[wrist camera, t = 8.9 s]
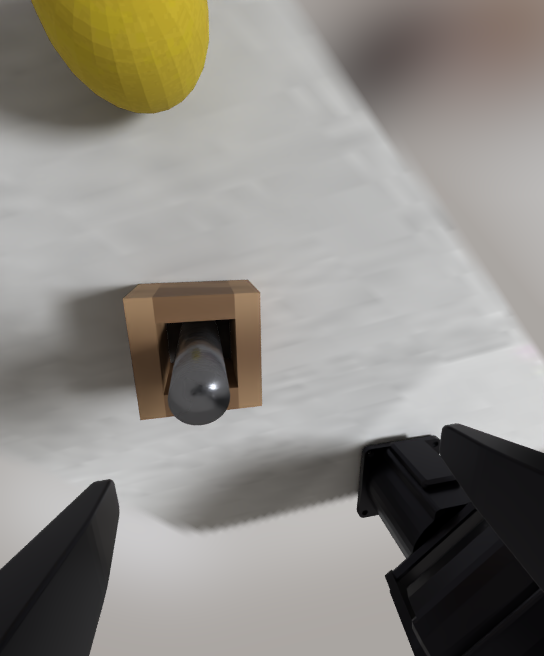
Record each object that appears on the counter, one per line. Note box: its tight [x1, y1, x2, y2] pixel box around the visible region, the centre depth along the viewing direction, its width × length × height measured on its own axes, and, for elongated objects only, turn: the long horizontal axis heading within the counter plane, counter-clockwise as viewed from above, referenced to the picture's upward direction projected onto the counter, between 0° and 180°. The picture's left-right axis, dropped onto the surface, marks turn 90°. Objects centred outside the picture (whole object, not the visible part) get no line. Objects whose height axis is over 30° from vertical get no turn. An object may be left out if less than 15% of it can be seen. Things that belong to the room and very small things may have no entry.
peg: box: [168, 320, 230, 425], centre depth 15 cm, size 2×2×8 cm
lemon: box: [31, 0, 209, 113], centre depth 11 cm, size 6×6×8 cm
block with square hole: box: [123, 280, 262, 420], centre depth 17 cm, size 6×6×4 cm
